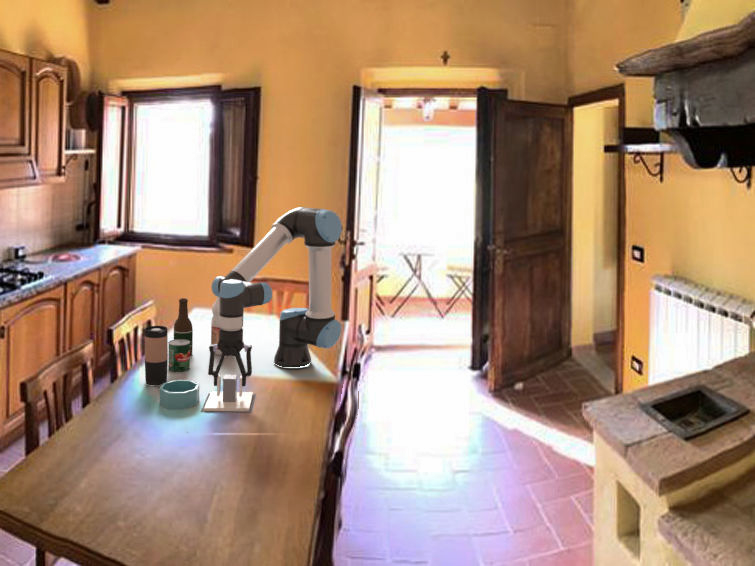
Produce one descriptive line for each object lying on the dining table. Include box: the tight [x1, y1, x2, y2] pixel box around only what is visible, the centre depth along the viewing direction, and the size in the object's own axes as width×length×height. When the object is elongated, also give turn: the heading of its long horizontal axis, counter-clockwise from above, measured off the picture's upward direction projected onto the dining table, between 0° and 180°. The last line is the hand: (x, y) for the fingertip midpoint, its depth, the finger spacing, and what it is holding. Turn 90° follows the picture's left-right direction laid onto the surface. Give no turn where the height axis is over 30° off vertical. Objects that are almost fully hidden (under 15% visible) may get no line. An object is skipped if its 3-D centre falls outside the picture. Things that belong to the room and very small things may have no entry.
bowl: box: [159, 379, 200, 410], centre depth 184 cm, size 12×12×6 cm
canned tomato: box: [167, 339, 191, 374], centre depth 215 cm, size 8×8×11 cm
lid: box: [204, 374, 254, 411], centre depth 186 cm, size 14×14×9 cm
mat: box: [200, 392, 257, 414], centre depth 187 cm, size 16×16×1 cm
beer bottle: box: [173, 297, 194, 358], centre depth 230 cm, size 8×8×24 cm
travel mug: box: [144, 325, 169, 387], centre depth 200 cm, size 8×8×20 cm
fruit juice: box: [210, 296, 222, 356], centre depth 238 cm, size 9×9×28 cm
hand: (229, 394), depth 187 cm, fingers open, 6 cm apart
